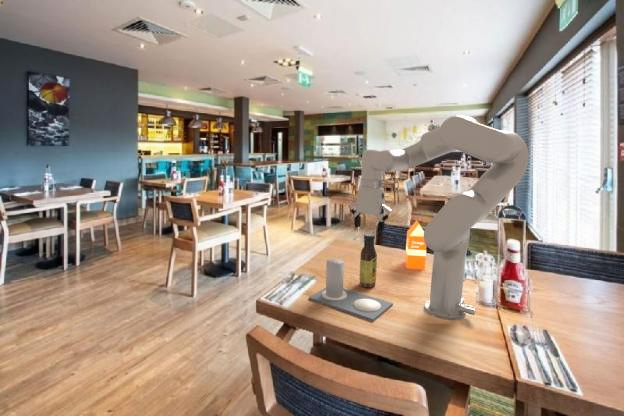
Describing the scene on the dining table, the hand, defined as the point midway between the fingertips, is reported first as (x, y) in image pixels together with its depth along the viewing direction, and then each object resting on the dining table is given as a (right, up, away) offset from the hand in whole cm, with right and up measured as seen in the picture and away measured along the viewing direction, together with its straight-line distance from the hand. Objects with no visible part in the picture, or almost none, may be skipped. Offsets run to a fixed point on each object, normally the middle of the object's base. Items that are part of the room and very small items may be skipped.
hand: (368, 229), depth 132 cm
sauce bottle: (0, -22, +4) cm, 22 cm away
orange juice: (+25, -18, +26) cm, 40 cm away
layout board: (-8, -24, -11) cm, 28 cm away
